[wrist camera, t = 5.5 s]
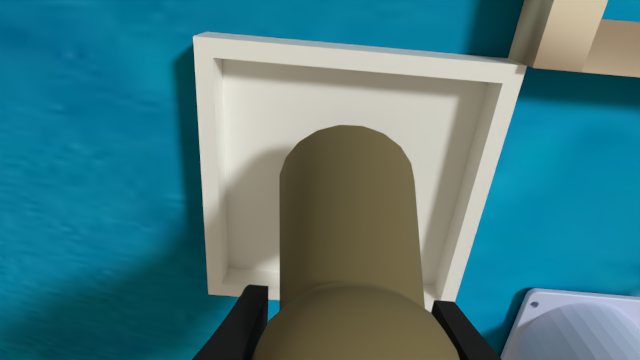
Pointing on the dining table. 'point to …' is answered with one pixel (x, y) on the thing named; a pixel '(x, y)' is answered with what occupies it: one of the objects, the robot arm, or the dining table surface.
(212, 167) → the tray
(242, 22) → the dining table surface
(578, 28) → the frame
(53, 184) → the dining table surface
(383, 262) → the olive tall rounded piece
